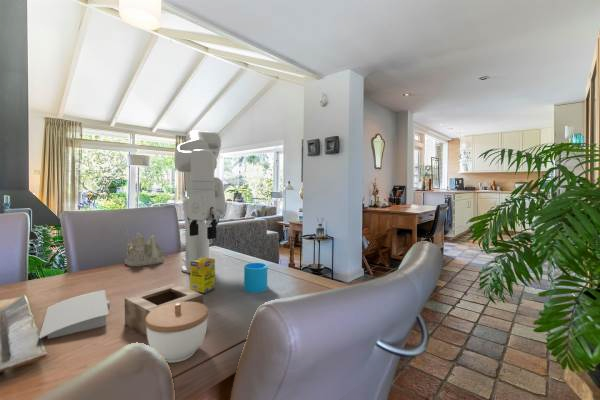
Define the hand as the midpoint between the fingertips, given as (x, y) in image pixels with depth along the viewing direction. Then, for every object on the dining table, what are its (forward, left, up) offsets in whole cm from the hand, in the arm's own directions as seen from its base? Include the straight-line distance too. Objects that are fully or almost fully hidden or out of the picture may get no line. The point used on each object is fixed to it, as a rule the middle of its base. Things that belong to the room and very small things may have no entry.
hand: (202, 237), depth 100 cm
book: (-10, -32, -20) cm, 39 cm away
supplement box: (0, 0, -19) cm, 19 cm away
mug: (+11, +14, -19) cm, 26 cm away
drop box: (+11, -20, -19) cm, 29 cm away
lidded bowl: (+27, -26, -19) cm, 42 cm away
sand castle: (-53, +7, -19) cm, 57 cm away
